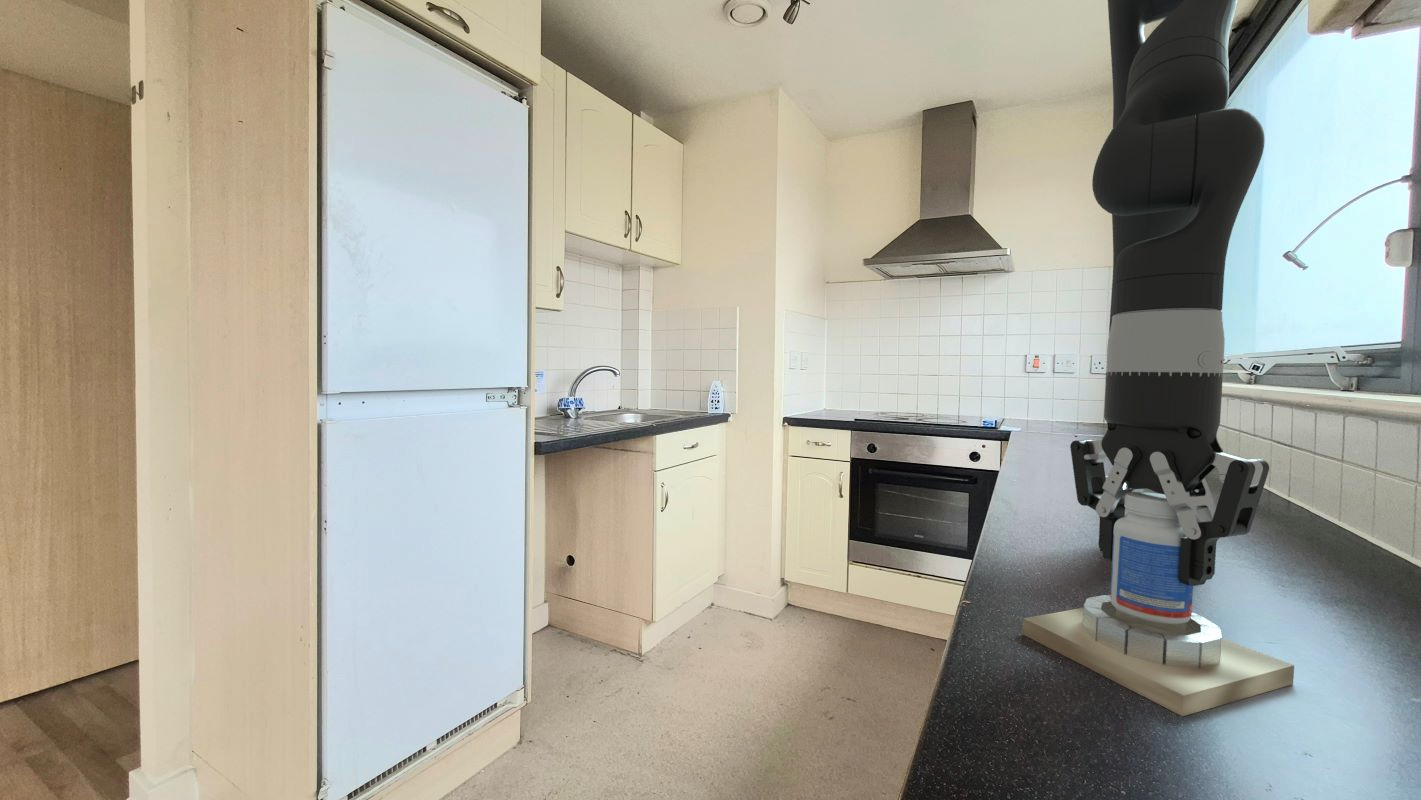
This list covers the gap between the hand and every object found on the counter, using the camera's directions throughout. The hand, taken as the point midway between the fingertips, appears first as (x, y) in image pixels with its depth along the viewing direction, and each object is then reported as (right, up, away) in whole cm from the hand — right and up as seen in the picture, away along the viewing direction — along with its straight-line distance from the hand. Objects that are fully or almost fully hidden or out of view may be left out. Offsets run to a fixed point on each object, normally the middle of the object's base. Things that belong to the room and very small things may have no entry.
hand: (1151, 570), depth 47 cm
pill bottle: (0, -4, 0) cm, 4 cm away
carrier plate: (0, -7, 0) cm, 7 cm away
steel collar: (0, -6, 0) cm, 6 cm away
